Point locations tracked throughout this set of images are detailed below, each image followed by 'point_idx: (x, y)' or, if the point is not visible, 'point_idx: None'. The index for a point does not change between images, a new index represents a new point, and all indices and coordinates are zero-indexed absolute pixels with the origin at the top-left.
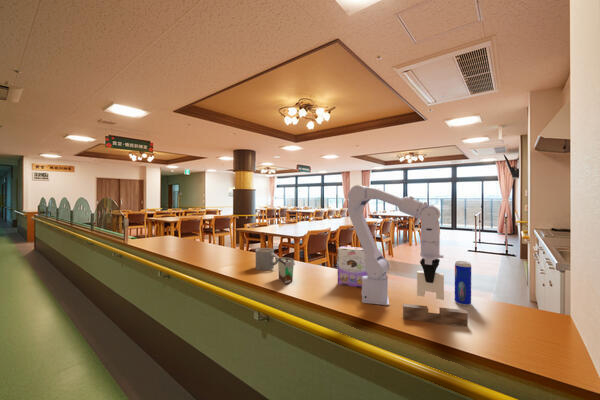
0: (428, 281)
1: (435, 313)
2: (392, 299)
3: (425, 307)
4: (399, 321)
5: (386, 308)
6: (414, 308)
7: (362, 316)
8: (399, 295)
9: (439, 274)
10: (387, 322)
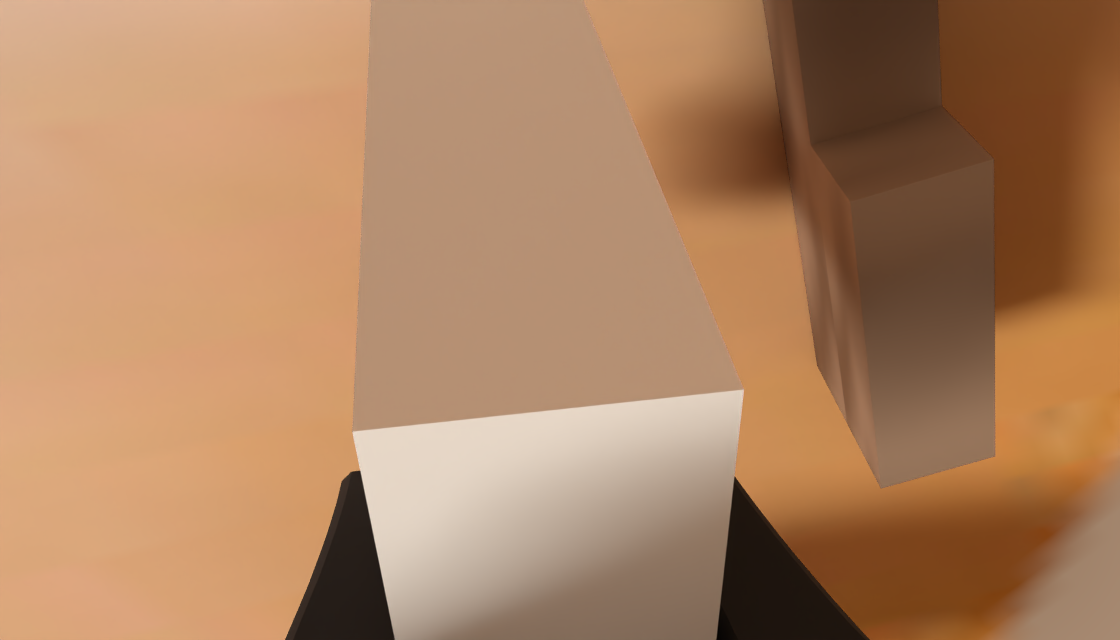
0: None
1: (810, 14)
2: None
3: (932, 210)
4: (1003, 354)
5: None
6: (990, 332)
7: (991, 624)
8: (75, 567)
9: (623, 533)
10: (1067, 437)
